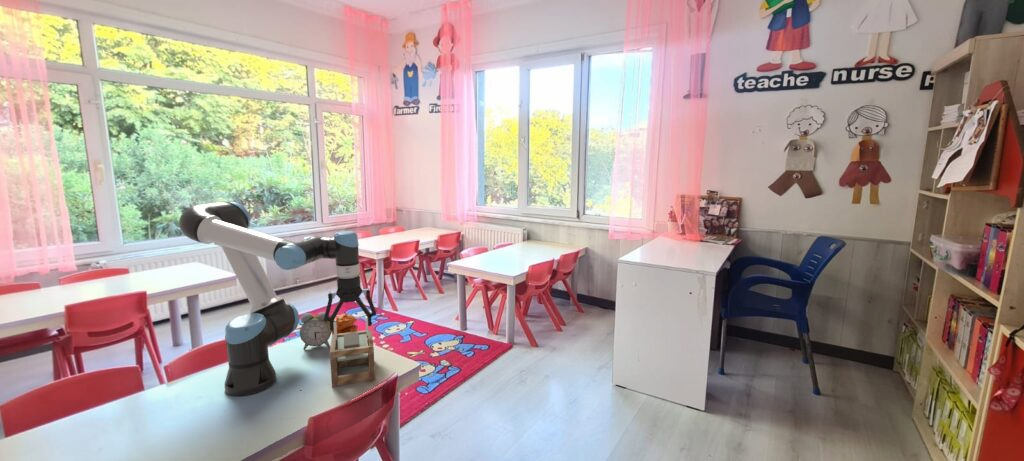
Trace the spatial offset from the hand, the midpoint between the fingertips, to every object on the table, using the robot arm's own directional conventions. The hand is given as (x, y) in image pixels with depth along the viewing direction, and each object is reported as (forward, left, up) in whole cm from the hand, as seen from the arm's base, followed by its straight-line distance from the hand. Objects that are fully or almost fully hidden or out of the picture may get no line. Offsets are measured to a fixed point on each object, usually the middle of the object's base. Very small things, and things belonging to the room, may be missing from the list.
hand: (351, 336), depth 152 cm
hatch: (0, +3, -5) cm, 6 cm away
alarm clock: (-14, +28, -14) cm, 35 cm away
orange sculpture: (-3, +15, -14) cm, 21 cm away
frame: (0, 0, -14) cm, 14 cm away
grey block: (0, 0, -5) cm, 5 cm away
